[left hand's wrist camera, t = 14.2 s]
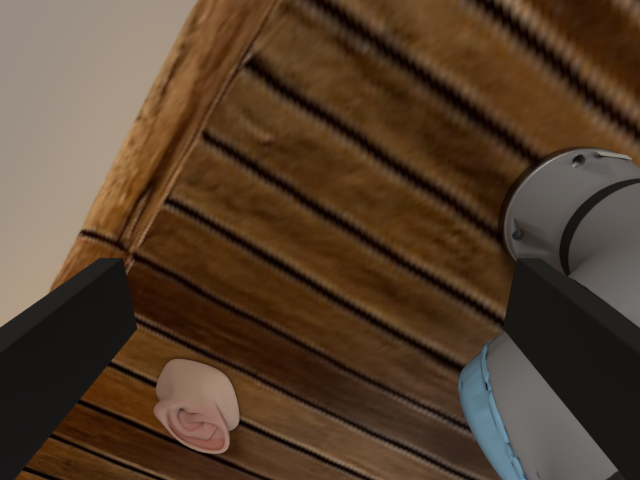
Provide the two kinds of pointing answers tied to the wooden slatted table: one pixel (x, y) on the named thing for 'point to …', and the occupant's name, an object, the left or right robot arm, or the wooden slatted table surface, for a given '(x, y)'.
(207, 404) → the anatomical model
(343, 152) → the wooden slatted table surface
